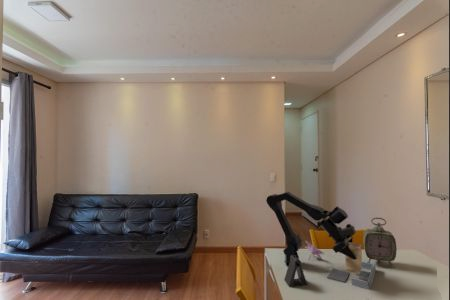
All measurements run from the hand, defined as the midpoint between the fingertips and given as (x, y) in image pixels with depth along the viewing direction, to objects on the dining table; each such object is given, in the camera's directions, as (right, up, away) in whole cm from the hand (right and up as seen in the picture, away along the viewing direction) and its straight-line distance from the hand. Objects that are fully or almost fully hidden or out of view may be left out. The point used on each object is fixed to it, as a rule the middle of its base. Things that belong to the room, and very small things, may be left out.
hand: (356, 256), depth 124 cm
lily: (-12, -12, +25) cm, 30 cm away
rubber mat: (-7, -11, +5) cm, 14 cm away
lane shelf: (+5, -11, +3) cm, 13 cm away
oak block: (-1, -7, +1) cm, 7 cm away
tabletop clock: (+21, -11, +17) cm, 29 cm away
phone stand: (-29, -12, -1) cm, 32 cm away
